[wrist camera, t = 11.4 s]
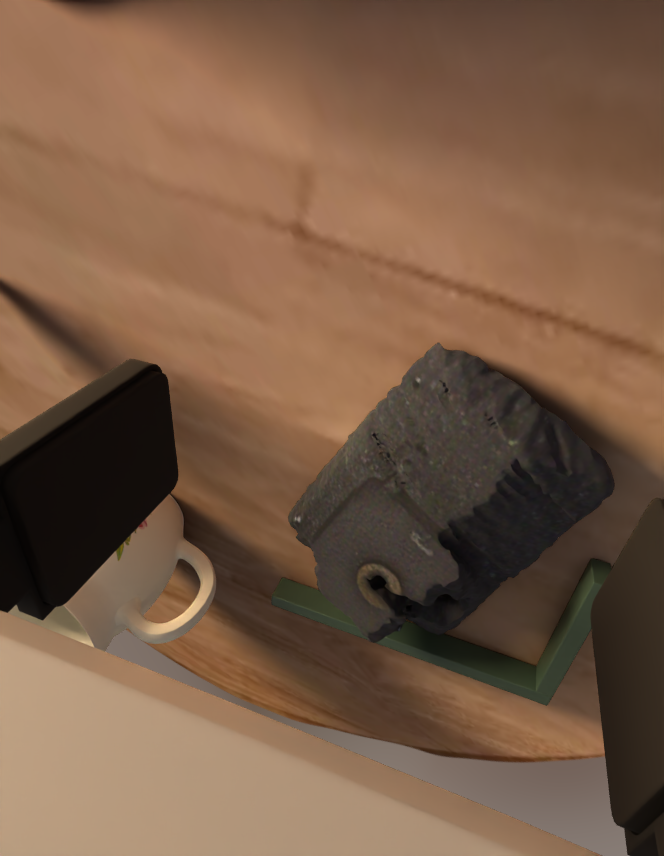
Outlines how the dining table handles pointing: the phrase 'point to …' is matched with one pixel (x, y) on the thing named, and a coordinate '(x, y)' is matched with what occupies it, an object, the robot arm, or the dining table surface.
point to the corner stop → (467, 656)
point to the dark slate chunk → (443, 496)
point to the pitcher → (134, 586)
